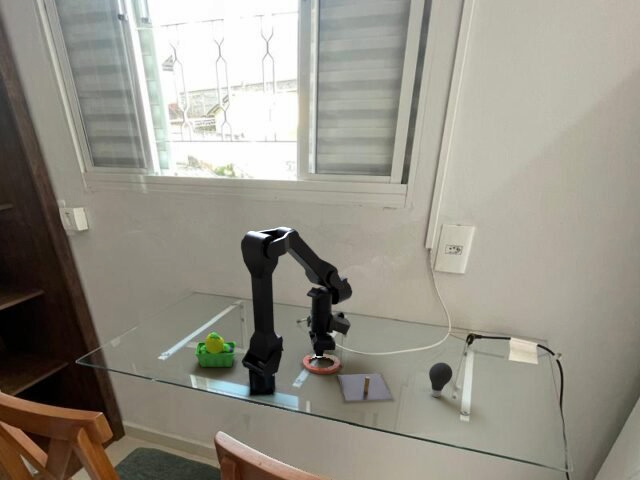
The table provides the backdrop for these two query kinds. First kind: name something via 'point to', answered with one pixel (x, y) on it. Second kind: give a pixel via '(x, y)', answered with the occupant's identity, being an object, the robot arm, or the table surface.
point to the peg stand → (364, 387)
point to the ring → (320, 370)
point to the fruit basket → (215, 352)
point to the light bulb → (439, 377)
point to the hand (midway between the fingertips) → (319, 357)
